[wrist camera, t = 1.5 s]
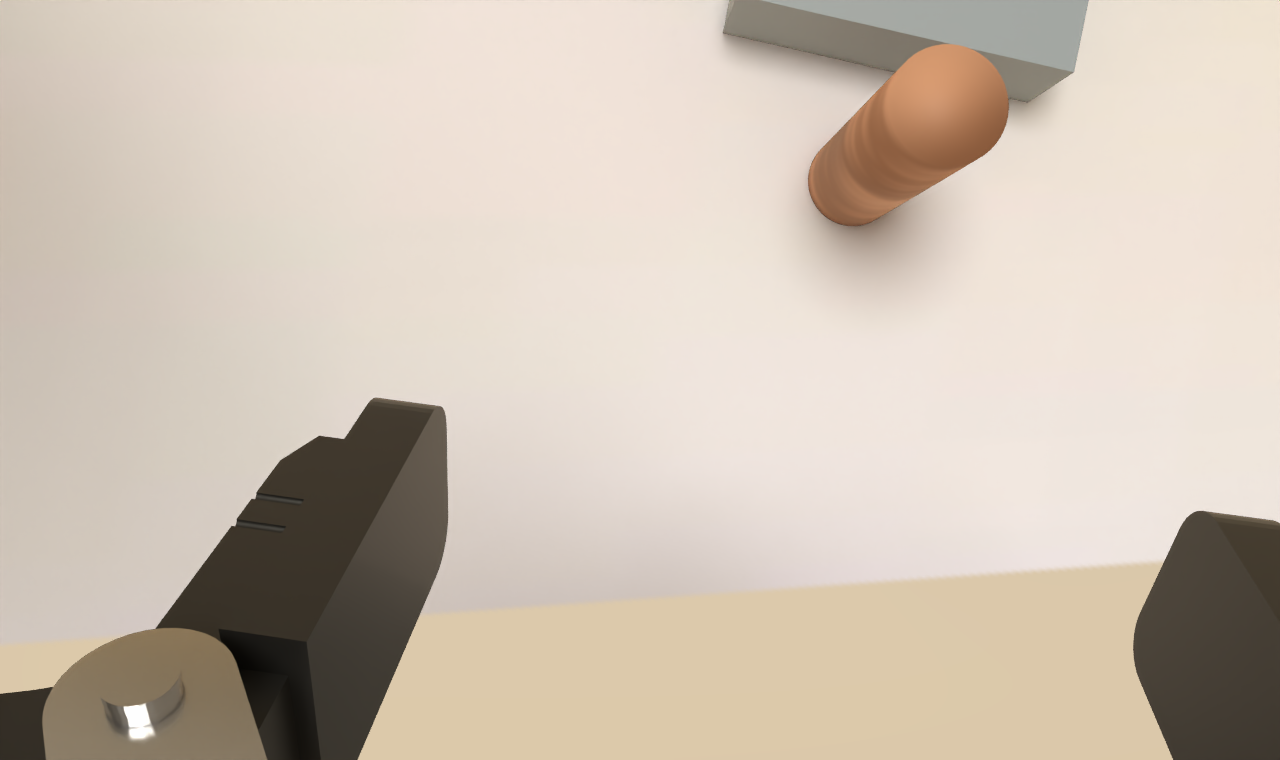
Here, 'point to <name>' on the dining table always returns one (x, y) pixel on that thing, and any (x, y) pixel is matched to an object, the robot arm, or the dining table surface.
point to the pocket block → (925, 32)
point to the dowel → (910, 134)
